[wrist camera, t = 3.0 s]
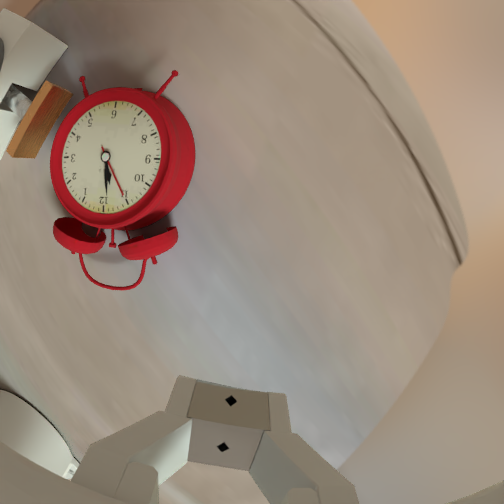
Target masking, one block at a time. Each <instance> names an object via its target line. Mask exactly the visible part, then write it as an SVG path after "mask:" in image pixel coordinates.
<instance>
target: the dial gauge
mask: <svg viewBox="0 0 504 504" xmlns="http://www.w3.org/2000/svg"><path fill="white" fill-rule="evenodd" d="M67 48H68V45H66V44H65V43H63V42H62V41H60V40H59V39H57V38H56V37H54V36H53V35H51V34H50V33H48V32H46V31H45V30H43V29H42V28H40V27H39V26H37V25H36V24H34V23H32V22H31V21H29V20H27V19H25V18H23V17H21V16H19V15H17V14H15V13H13V12H11V11H9V10H7V9H5V8H3V9H2V11H1V12H0V160H1V158H2V156H3V153H4V151H5V149H6V147H7V145H8V143H9V141H10V139H11V137H12V135H13V133H14V131H15V129H16V127H17V125H18V123H19V121H20V118H19V117H18V116H17V115H16V114H15V113H14V112H13V111H12V110H11V109H10V108H9V107H8V106H7V105H6V104H5V103H4V102H3V101H2V100H3V98H4V96H5V94H6V92H7V91H8V89H9V87H10V86H11V84H12V83H14V84H17V85H20V86H23V87H26V88H29V89H32V90H35V91H38V89H39V87H40V86H41V84H42V83H43V81H44V80H45V78H46V77H47V75H48V74H49V72H50V71H51V69H52V68H53V67H54V65H55V64H56V62H57V61H58V60H59V58H60V57H61V56H62V54H63V53H64V52H65V50H66V49H67Z"/></svg>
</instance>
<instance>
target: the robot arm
mask: <svg viewBox="0 0 504 504" xmlns="http://www.w3.org/2000/svg"><path fill="white" fill-rule="evenodd" d="M187 461H190V462H196V463H202V464H208V465H214V466H220V467H226V468H232V469H238V470H245V471H249V473H250V475H251V476H252V478H253V479H254V481H255V482H256V484H257V485H258V487H259V488H260V490H261V491H262V493H263V494H264V495H265V497H266V498H267V500H268V501H269V503H270V504H359V501H358V498H357V494H356V491H355V487H354V485H353V484H352V483H351V482H349V481H348V480H347V479H346V478H345V477H344V476H342V475H341V474H340V473H339V472H338V471H337V470H336V469H335V468H333V467H332V466H331V465H330V464H329V463H328V462H327V461H326V460H324V459H323V458H322V457H321V456H320V455H319V454H318V453H317V452H316V451H315V450H314V449H313V448H311V447H310V446H309V445H308V444H307V443H306V442H305V441H304V440H303V439H302V438H301V437H300V436H299V435H298V434H295V433H292V432H291V425H290V418H289V411H288V404H287V397H286V395H285V394H283V393H273V392H261V391H254V390H247V389H241V388H235V387H230V386H225V385H221V384H216V383H211V382H207V381H202V380H198V379H197V380H196V379H193V378H189V377H185V376H181V375H179V376H178V378H177V380H176V383H175V385H174V388H173V391H172V393H171V396H170V399H169V401H168V404H167V407H166V410H165V412H162V411H158V412H156V413H154V414H152V415H150V416H148V417H146V418H144V419H142V420H140V421H139V422H137V423H135V424H133V425H131V426H129V427H126V428H124V429H122V430H120V431H118V432H116V433H114V434H112V435H110V436H108V437H106V438H103V439H101V440H99V441H97V442H95V443H92V444H91V445H90V446H89V448H88V450H87V452H86V454H85V455H84V457H83V459H82V461H81V463H80V464H79V463H78V462H77V460H76V459H75V458H74V457H73V456H72V454H71V452H70V450H69V448H68V446H67V444H66V443H65V441H64V440H63V438H62V437H61V436H60V434H59V433H58V432H57V431H56V430H55V428H54V427H53V426H52V425H51V424H50V423H49V422H48V421H47V420H46V419H45V418H44V417H43V416H42V415H41V414H40V413H38V412H37V411H36V410H35V409H34V408H32V407H31V406H30V405H29V404H27V403H26V402H25V401H23V400H22V399H20V398H19V397H17V396H15V395H13V394H11V393H9V392H7V391H4V390H0V504H159V488H158V486H159V485H160V484H161V483H163V482H164V481H165V480H166V479H168V478H169V477H170V476H171V475H173V474H174V473H175V472H176V471H177V470H179V469H180V468H181V467H182V466H183V465H185V464H186V463H187ZM70 478H72V479H71V481H70V480H68V479H70ZM446 504H504V480H503V481H501V482H499V483H497V484H495V485H492V486H490V487H488V488H486V489H483V490H481V491H479V492H476V493H474V494H471V495H469V496H466V497H463V498H461V499H458V500H455V501H452V502H449V503H446Z"/></svg>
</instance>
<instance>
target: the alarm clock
mask: <svg viewBox="0 0 504 504" xmlns="http://www.w3.org/2000/svg"><path fill="white" fill-rule="evenodd" d="M177 75H178V72H177V71H176V70H174V71H172V75H171V76H170V78H169V79H168V80H167V81H166V82H165V83H164V85H162V86H161V88H160V89H159V90H158V92H157V93H156V94H155V93H152V92H148V91H142V88H134V89H133V88H126V87H117V88H109V89H104V90H101V91H98V92H95V93H93V94H91V95H88V91H87V89H86V86H85V82H84V80H85V77H84V76H81V77H80V79H79V80H80V82H82V86H83V90H84V91H83V92H84V96H85V98H84V99H83V100H82V101H80V102H79V103H78V104H77V105H76V106H75V107H74V108H73V109H72V110H71V111H70V112H69V113H68V114H67V116H66V117H65V118H64V120H63V121H62V123H61V125H60V127H59V129H58V131H57V133H56V136H55V138H54V141H53V145H52V149H51V157H50V172H51V179H52V184H53V187H54V190H55V192H56V195H57V197H58V199H59V200H60V202H61V204H62V205H63V206H64V208H65V209H66V210H67V211H68V212H69V213H70V214H71V215H72V216H73V217H75V218H69V217H63V218H58V219H57V220H56V221H55V222H54V226H53V234H54V237H55V239H56V240H57V241H58V242H59V243H60V244H61V245H62V246H63V247H65V248H66V249H68V250H70V251H72V252H71V253H72V254H75V252H76V253H79V258H80V263H81V266H82V269H83V271H84V273H85V275H86V276H87V278H88V279H89V280H90V281H91V282H93V283H94V284H96V285H98V286H100V287H103V288H107V289H111V290H129V289H132V288H135V287H136V286H137V285H139V284H140V282H141V281H142V279H143V277H144V273H145V267H146V261H147V259H149V258H150V257H151V259H152V262H153V264H157V260H156V257H155V256H157V255H159V254H161V253H163V252H166V251H168V250H169V249H170V248H172V247H173V246H174V245H175V243H176V242H177V240H178V231H177V228H176V226H175V227H169V228H167V230H168V232H166V233H163V234H160V235H157V236H154V237H151V238H148V239H144V237H143V235H140V236H138V237H135V238H132V239H130V236H129V233H128V230H135V229H139V228H143V227H145V226H148V225H150V224H152V223H154V222H156V221H158V220H160V219H161V218H163V217H164V216H166V215H167V214H168V213H169V212H170V211H171V210H172V209H173V208H174V207H175V206H176V205H177V204H178V202H179V201H180V200H181V198H182V197H183V195H184V194H185V192H186V190H187V188H188V186H189V183H190V181H191V178H192V174H193V171H194V165H195V144H194V138H193V134H192V131H191V128H190V126H189V124H188V122H187V120H186V118H185V117H184V115H183V114H182V113H181V112H180V110H179V109H178V108H177V107H176V106H175V105H174V104H173V103H171V102H170V101H169V100H167V99H166V98H164V97H162V96H160V95H161V94H162V92H163V91H164V90H165V88H166V86H167V85H168V84H169V83H170V81H171V80H172V79H173V77H174V76H177ZM82 222H83V223H85V224H87V225H90V226H93V227H97V228H99V229H98V232H97V235H96V238H93V237H90V236H88V235H87V234H85V233H84V231H83V230H82ZM101 228H103V229H112V230H111V243H109V247H113V248H116V243H114V229H116V230H126V233H127V236H128V239H129V240H127V241H125V242H123V243H121V244H119V245H118V248H119V250H120V252H121V254H122V256H123V257H125V258H126V259H129V260H142V259H144V260H143V264H142V270H141V274H140V277H139V279H138V281H137V282H136V283H134V284H133V285H130V286H126V287H115V286H109V285H105V284H102V283H99V282H98V281H96V280H94V279H93V278H92V277H91V276H90V275H89V274H88V272H87V270H86V268H85V265H84V262H83V257H82V254H90V253H95V252H97V251H99V250H100V249H101V248H102V247H103V245H104V243H105V240H106V235H105V233H104V232H103V231H102V230H101V234H100V236H99V237H98V235H99V232H100V229H101ZM97 237H98V238H97Z"/></svg>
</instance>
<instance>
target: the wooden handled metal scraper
mask: <svg viewBox="0 0 504 504" xmlns="http://www.w3.org/2000/svg"><path fill="white" fill-rule="evenodd" d="M72 96H73V94H72V93H71V92H70V91H68V90H67V89H65V88H63V87H60V86H58V85H56V84H54V83H51V82H49V81H47V80H46V81H45V82H44V84H43V86H42V87H41V89H40V90H39V92H38V93H37V95H36V97H35V98H34V100H33V102H32V101H31V100H30V99H29V98H27V97H26V96H25V95H24V94H23V93H22V92H20V91H19V90H18V89H17V88H16V87H15V86H14V85H12V84H11V86H10V87H9V89H8V91H7V92H6V94H5V96H4V98H3V100H2V101H3V102H4V103H5V104H6V105H7V106H8V107H9V108H10V109H11V110H12V111H13V112H14V113H15V114H16V115H17V116H18V117H19V118H20V119H22V121H21V123H20V124H19V126H18V128H17V130H16V132H15V134H14V136H13V138H12V140H11V142H10V144H9V146H8V148H7V150H6V151H7V152H8V153H9V154H10V156H11V157H15V158H35V157H36V155H37V153H38V152H39V150H40V148H41V146H42V144H43V142H44V141H45V139H46V137H47V135H48V134H49V132H50V130H51V128H52V127H53V125H54V123H55V122H56V120H57V119H58V117H59V115H60V114H61V112H62V111H63V109H64V108H65V106H66V104H67V103H68V101H69V100H70V98H71V97H72Z"/></svg>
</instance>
